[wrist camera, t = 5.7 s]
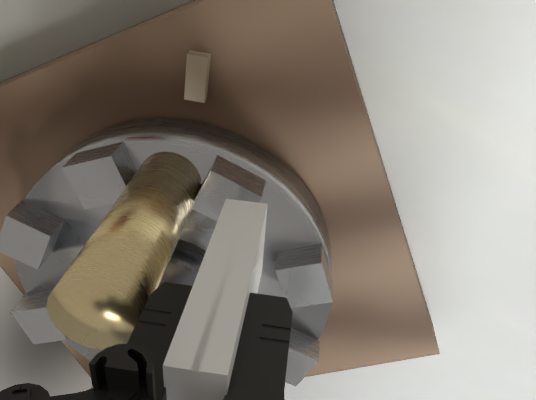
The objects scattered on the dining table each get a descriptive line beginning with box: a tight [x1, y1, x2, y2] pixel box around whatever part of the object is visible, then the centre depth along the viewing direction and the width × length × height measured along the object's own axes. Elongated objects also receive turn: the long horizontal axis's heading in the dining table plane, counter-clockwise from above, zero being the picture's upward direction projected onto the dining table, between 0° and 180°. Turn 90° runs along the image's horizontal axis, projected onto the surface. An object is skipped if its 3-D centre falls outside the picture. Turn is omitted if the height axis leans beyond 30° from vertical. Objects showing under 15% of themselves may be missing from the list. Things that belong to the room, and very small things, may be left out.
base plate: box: [0, 0, 440, 377], centre depth 25 cm, size 20×20×2 cm
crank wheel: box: [0, 118, 333, 388], centre depth 20 cm, size 14×14×10 cm
